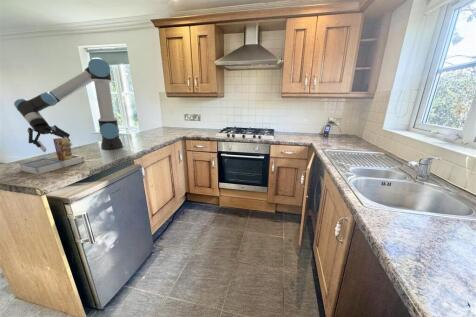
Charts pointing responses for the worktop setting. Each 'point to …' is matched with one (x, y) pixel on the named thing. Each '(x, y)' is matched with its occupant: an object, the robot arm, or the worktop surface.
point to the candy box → (63, 149)
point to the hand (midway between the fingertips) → (58, 148)
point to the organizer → (49, 164)
